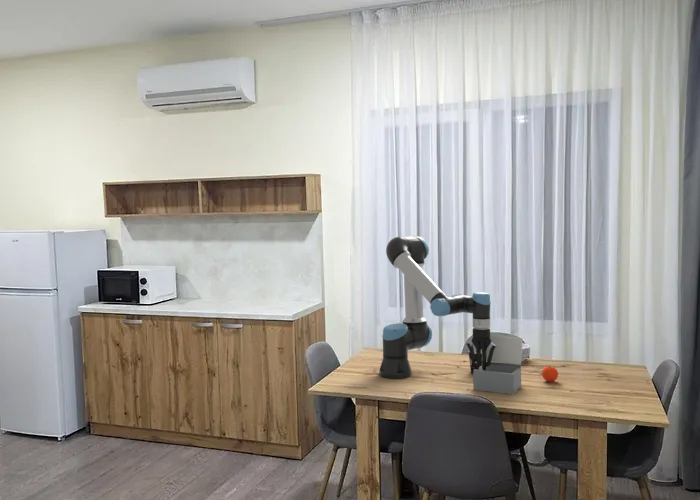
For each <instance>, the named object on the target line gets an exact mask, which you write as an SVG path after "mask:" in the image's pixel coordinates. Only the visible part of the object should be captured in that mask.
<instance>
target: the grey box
mask: <svg viewBox="0 0 700 500" xmlns="http://www.w3.org/2000/svg"><path fill="white" fill-rule="evenodd" d="M486 363H487V361H486ZM472 375H473V380H472V381H473V382H472V383H473V385H472V386H473V387H472V388H473V390H475V391H483V392H489V391H491V392H490V393H497V392H499V393H498V394H505V393H507V394H506V395H513V394H514V395H515V394H516V393H517V392H518V390H519V389H521V387H522V364H521V365H518V364H509V363H499V362H491V364H490V365H489V366H487V367H486V371H485V370H476V369H474V370H473V374H472ZM516 391H517V392H516ZM515 392H516V393H515Z"/></svg>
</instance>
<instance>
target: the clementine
mask: <svg viewBox="0 0 700 500" xmlns="http://www.w3.org/2000/svg"><path fill="white" fill-rule="evenodd" d="M541 376H542V378H543V379H544V380H545V381H546V382H549V383H552V382H555V381H556V380H557V379H558V378H559V371H558V369H557V368H556V367H555V366H554V365H547V366H545V367H544V368H543V369H542V371H541Z"/></svg>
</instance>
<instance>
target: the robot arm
mask: <svg viewBox="0 0 700 500" xmlns="http://www.w3.org/2000/svg"><path fill="white" fill-rule="evenodd" d="M385 248H386V249H385V252H386V253H385V254H386V256H387V259H388V261H389V262H390V264H391V265H392V266H393V268H395V269H398V270H399V271H400V272H401V273H402V274H403V286H404V311H405V317H404V318H403V320H402V323H400V322H399V323H398V322H397V323H391V324H387V325H385V326H384V327H383V329H382V335H381V337H382V360H381V364H380V367H379V372H378V373H379V376H380V377H382V378H386V379H405V378H410V377H412V367H411V365H410V361H409V351H411V350H414V349H420V348H421V349H422V348H424V347H426V346H428V345H429V344H430V342H431V341H432V337H433V331H432V330H433V329H432V328H431V326H430V325H429V324H428V321H427V319H426V318H425V317H424V302H423V301H424V299H423V298H425V300H426V301H427V302H428V303H429V304H430V307H429V308H430V310H431V313H432V315H434V316H436V317H445V316H448V315H455V314H462V313H468V314H472V327H473V328H472V338H471V340H470V341H469V342H467V343H466V346H467V348H468V351H470V356H471V360H472V364H473V365H475V366H476V367H477V370H485V371H486V367H487V366H489V365H490V364H491V360H492V356H493V352H494V349H495V348H496V344H495V345H494V344H493V343H492V342H491V339H490V335H491V329H490V328H491V295H490V293H488V292H485V291H482V292H481V291H477V292H476V291H475V292H473V293H472V295H466V294H465V295H463V294H452V295H451V296H449V297H448V296H447V295H446V294H445V293H444V292H443V291H442V290H441V288H440V287H439V286H438V285H437V284H436V283H435V281H434V280H432V279H431V277H429V275H427V273H426V272H425V271H424V270H423V269H422V267H423V266H424V265H425V259H427V257H428V256H429V253H430V249H429V244H428V242H427V241H426V240H425V239H424V238H423V237H421V236H417V235H411V236H396V237H393V238H392V239H391V240H390V241H388V243H387V245H386V247H385ZM489 345H490V348H491V349H490V352H489V356H488V360H487V361H486V351H487V348H488V346H489ZM474 347H475V349H474ZM474 350H476V357H475V353H474ZM481 350H482V366H480V365H481ZM486 362H487V363H486Z"/></svg>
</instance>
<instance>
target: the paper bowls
mask: <svg viewBox="0 0 700 500" xmlns="http://www.w3.org/2000/svg"><path fill="white" fill-rule="evenodd" d="M530 355H531V345H529V344H526V343H523V342H522V359H521V363H522V362H524V361H525V360H526V358H527V357H530Z"/></svg>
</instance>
